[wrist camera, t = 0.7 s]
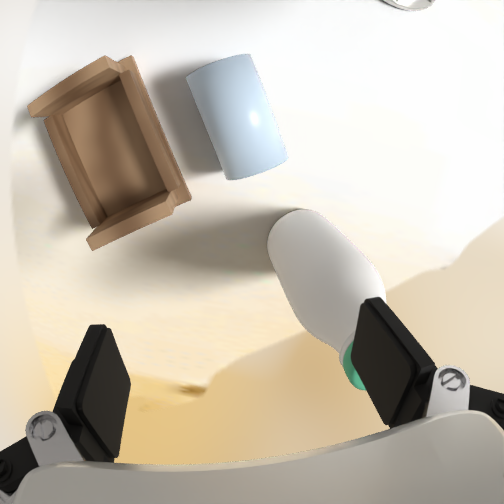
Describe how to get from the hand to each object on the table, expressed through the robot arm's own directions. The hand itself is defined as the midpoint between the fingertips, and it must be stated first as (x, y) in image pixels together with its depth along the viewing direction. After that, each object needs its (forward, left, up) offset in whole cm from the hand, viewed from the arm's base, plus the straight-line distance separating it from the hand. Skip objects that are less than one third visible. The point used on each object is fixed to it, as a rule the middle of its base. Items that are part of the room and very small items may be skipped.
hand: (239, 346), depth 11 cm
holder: (+8, -9, -22) cm, 25 cm away
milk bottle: (-6, +8, -23) cm, 25 cm away
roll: (-4, -7, -23) cm, 24 cm away
